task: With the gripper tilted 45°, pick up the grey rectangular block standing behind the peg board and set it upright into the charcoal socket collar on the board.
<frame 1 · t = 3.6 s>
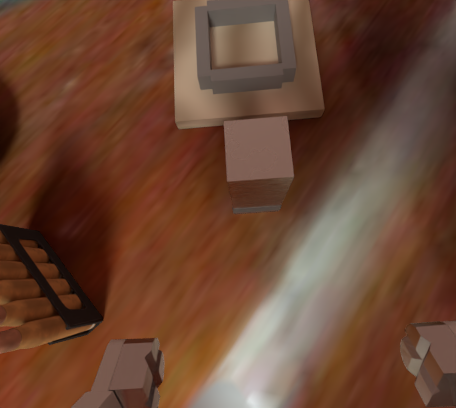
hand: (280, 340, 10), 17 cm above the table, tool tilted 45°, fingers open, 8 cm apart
grey rectangular block: (254, 191, 29), on the table
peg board: (244, 61, 32), on the table
ammunition clip: (63, 280, 28), on the table
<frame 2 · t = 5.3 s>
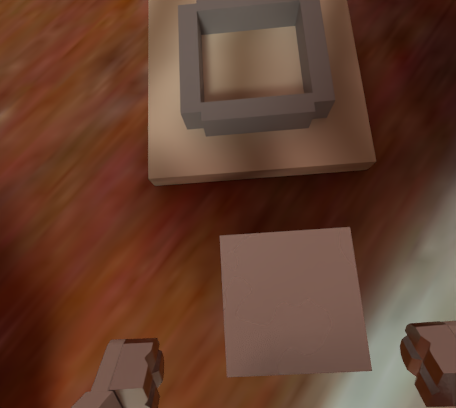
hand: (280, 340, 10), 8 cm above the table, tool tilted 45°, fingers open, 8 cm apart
grey rectangular block: (268, 287, 19), on the table
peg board: (251, 84, 22), on the table
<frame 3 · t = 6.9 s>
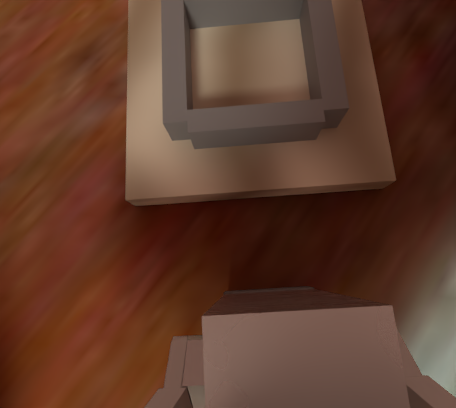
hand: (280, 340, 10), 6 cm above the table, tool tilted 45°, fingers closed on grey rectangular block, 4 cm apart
grey rectangular block: (268, 329, 16), on the table, touching gripper
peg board: (248, 87, 19), on the table
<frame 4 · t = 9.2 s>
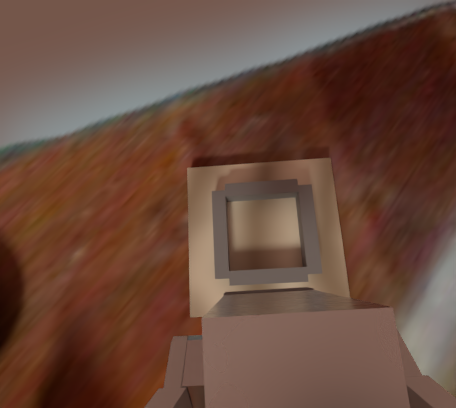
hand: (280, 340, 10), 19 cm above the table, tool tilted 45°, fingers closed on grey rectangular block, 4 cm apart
grey rectangular block: (268, 330, 16), point 13 cm above the table, touching gripper
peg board: (262, 235, 30), on the table
when the fingers open (9 cm above the table, at t = 11.7 s): grey rectangular block drops 1 cm, resting on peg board.
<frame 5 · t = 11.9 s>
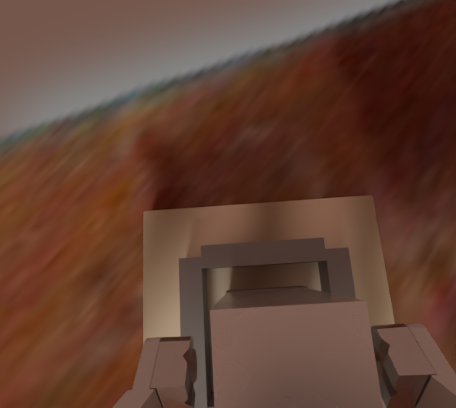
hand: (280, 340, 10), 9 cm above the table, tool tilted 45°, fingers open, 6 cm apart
grey rectangular block: (266, 325, 17), point 1 cm above the table, touching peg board
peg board: (264, 320, 19), on the table
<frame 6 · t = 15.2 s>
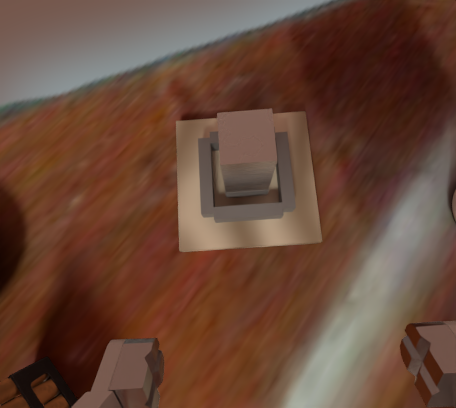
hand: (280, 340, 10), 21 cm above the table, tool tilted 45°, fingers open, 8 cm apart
grey rectangular block: (245, 178, 32), point 1 cm above the table, touching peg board
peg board: (244, 182, 33), on the table
ammunition clip: (72, 407, 29), on the table
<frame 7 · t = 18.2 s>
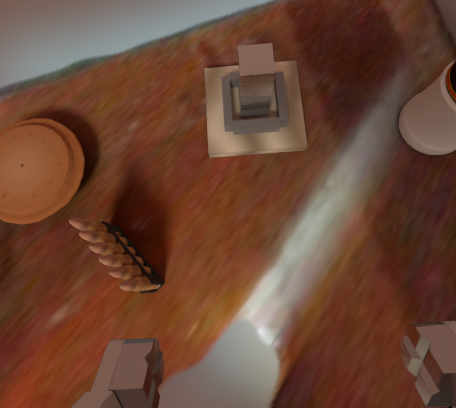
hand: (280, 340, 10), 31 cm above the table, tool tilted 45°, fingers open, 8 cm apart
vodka: (427, 128, 45), on the table
grey rectangular block: (253, 105, 45), point 1 cm above the table, touching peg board
pie: (46, 177, 46), on the table
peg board: (253, 110, 47), on the table
ammunition clip: (136, 258, 43), on the table
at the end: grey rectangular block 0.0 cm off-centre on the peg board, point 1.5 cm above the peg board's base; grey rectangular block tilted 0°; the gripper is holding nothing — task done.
